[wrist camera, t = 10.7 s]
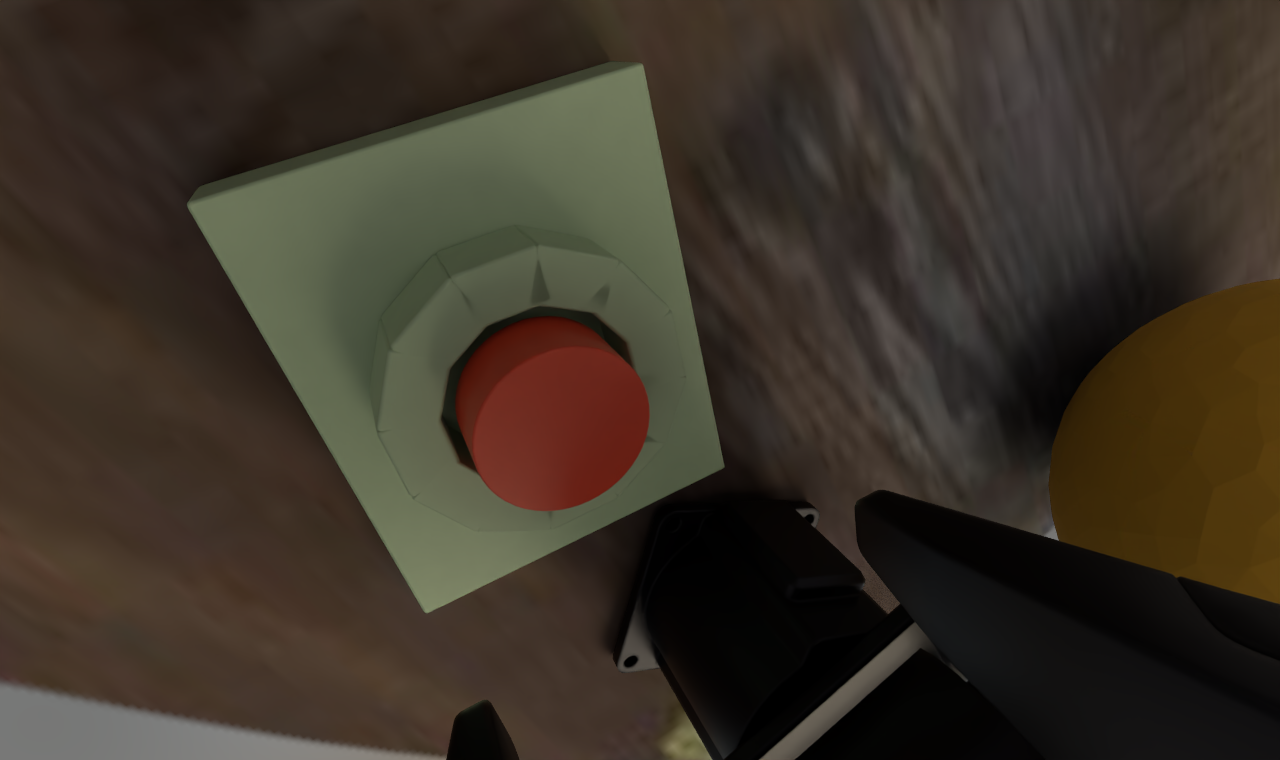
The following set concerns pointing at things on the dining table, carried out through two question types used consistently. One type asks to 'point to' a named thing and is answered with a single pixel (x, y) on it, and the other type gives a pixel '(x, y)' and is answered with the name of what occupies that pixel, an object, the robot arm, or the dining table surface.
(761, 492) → the dining table surface
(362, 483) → the button box
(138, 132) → the dining table surface
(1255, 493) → the emoji
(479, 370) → the button
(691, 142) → the dining table surface
